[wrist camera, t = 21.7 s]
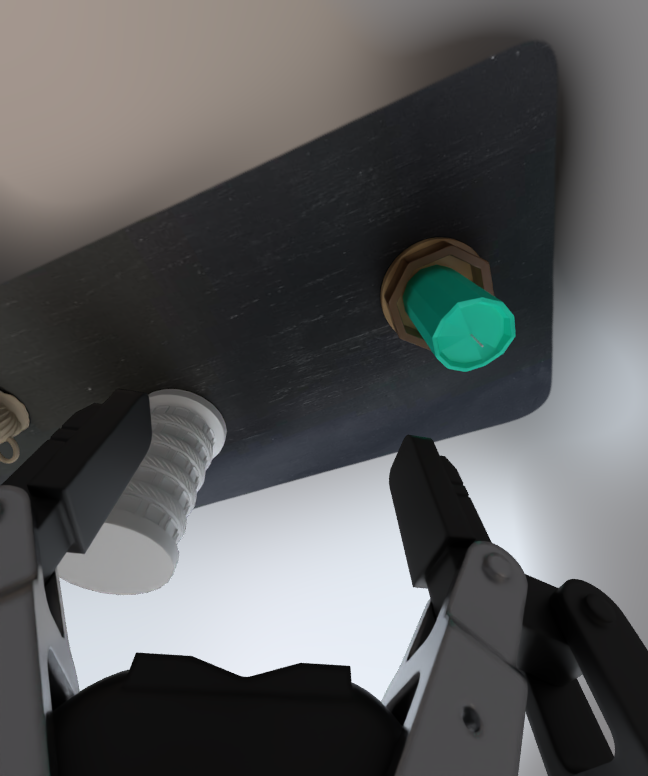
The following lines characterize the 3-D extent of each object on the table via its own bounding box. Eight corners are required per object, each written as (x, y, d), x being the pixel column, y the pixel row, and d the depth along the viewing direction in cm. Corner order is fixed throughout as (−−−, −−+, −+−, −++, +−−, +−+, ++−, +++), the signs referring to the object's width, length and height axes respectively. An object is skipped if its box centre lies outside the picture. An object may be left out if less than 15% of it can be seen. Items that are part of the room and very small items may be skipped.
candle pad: (412, 218, 31) (422, 222, 28) (503, 262, 33) (522, 270, 30) (363, 319, 36) (367, 331, 33) (445, 350, 38) (456, 365, 35)
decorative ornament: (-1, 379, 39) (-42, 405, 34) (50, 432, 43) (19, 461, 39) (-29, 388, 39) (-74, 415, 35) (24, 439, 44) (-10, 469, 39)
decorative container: (237, 407, 42) (191, 539, 26) (214, 468, 47) (165, 606, 32) (141, 375, 39) (27, 501, 24) (129, 444, 44) (31, 582, 29)
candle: (467, 262, 32) (538, 302, 22) (457, 322, 35) (514, 380, 25) (405, 265, 32) (446, 306, 22) (400, 325, 35) (433, 384, 25)
